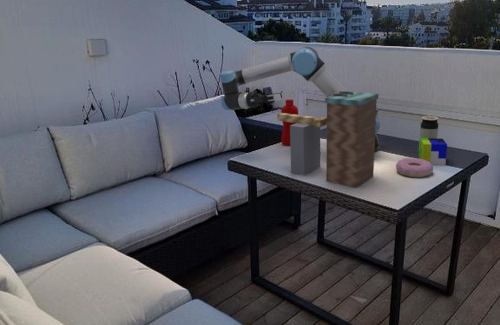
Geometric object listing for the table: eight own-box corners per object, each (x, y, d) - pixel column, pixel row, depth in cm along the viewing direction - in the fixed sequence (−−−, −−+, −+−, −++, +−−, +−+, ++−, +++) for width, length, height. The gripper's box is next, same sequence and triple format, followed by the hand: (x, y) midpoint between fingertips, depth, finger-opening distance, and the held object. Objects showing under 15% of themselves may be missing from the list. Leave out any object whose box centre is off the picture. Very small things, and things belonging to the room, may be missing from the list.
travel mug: (427, 156, 213) (430, 120, 207) (415, 152, 220) (417, 117, 214) (439, 153, 216) (442, 118, 210) (427, 149, 223) (430, 115, 217)
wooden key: (274, 121, 203) (274, 114, 202) (283, 118, 208) (283, 112, 207) (319, 127, 188) (319, 120, 187) (328, 123, 193) (328, 117, 193)
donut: (399, 165, 204) (400, 155, 202) (434, 169, 196) (435, 158, 195) (392, 176, 191) (393, 165, 189) (429, 181, 184) (430, 169, 182)
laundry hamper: (324, 181, 188) (325, 95, 177) (343, 170, 201) (345, 88, 189) (356, 188, 179) (359, 98, 167) (374, 176, 191) (378, 91, 180)
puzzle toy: (445, 165, 200) (447, 144, 197) (422, 165, 202) (423, 144, 199) (440, 158, 209) (442, 138, 206) (418, 158, 211) (420, 138, 208)
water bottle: (299, 141, 250) (299, 97, 242) (297, 146, 240) (296, 101, 232) (283, 140, 252) (282, 97, 244) (280, 146, 242) (279, 101, 234)
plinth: (291, 172, 201) (290, 125, 194) (307, 164, 211) (307, 119, 204) (303, 175, 197) (303, 127, 190) (320, 166, 207) (320, 120, 200)
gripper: (263, 104, 228) (300, 100, 216) (236, 111, 208) (275, 106, 196) (261, 90, 227) (298, 84, 215) (234, 95, 207) (272, 89, 195)
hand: (287, 95), depth 205 cm, fingers open, 13 cm apart
